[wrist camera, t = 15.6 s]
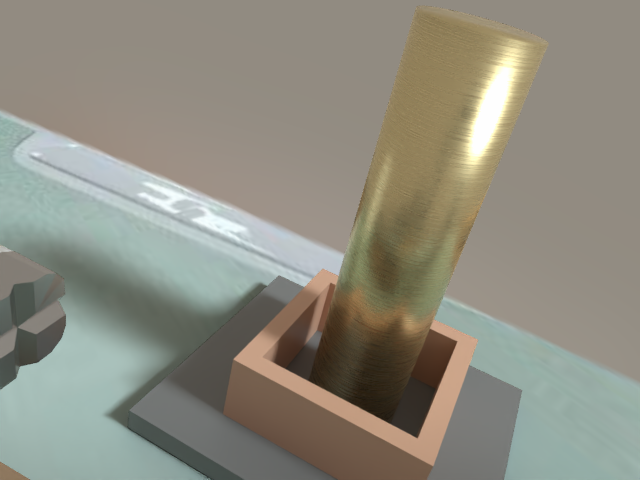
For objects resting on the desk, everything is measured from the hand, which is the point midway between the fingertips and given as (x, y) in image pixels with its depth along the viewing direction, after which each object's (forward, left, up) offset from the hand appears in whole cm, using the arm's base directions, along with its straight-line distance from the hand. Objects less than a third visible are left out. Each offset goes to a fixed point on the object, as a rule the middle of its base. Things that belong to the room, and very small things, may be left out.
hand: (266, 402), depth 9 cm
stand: (+9, -9, -12) cm, 17 cm away
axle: (+8, -9, -11) cm, 16 cm away
